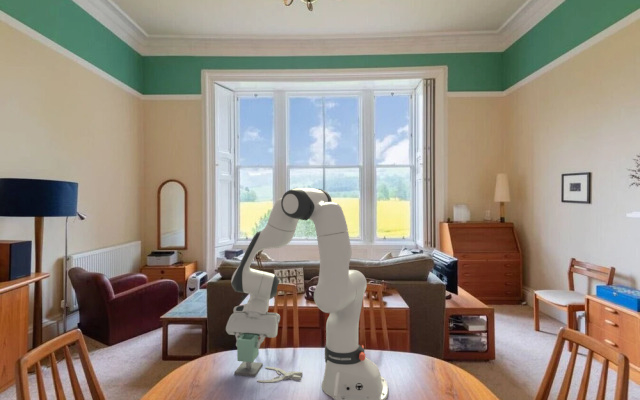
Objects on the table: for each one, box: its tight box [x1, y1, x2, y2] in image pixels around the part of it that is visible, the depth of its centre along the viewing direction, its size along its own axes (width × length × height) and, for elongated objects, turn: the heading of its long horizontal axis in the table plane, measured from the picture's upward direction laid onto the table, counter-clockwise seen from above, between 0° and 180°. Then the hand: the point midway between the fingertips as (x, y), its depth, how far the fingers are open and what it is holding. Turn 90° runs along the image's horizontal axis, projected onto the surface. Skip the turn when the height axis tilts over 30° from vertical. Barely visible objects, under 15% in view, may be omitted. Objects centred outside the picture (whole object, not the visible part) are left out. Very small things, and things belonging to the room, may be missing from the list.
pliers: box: [257, 366, 303, 384], centre depth 120 cm, size 10×2×15 cm
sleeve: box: [236, 333, 260, 363], centre depth 124 cm, size 6×6×8 cm
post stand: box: [234, 361, 264, 378], centre depth 124 cm, size 8×8×8 cm
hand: (247, 347), depth 124 cm, fingers closed on sleeve, 6 cm apart
